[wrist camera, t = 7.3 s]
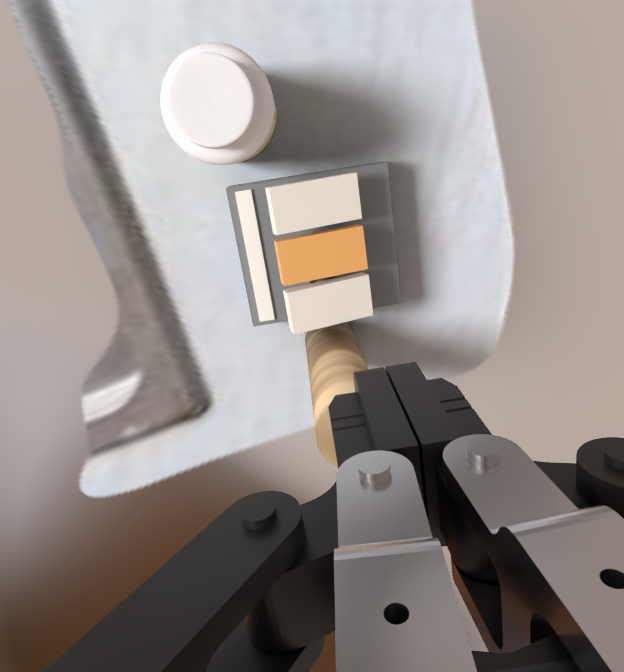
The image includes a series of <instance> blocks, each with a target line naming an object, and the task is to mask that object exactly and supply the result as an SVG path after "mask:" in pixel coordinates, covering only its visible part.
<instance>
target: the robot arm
mask: <svg viewBox="0 0 624 672" xmlns="http://www.w3.org/2000/svg"><path fill="white" fill-rule="evenodd" d="M353 378H354V386H355V392H352V393H346V394H340V395H335V396H334V398H333V400H332V401H331V403H330V405H329V406H328V409H329V415H330V421H331V428H332V434H333V440H334V446H335V452H336V458H337V464H338V471H337V475H336V482H335V484H334V485H333V486H332V487H331V488H330V489H329V490H328V491H327V492H326V493H324V494H323V495H321V496H320V497H318V498H316V499H314V500H312V501H309V502H307V503H305V504H302V505H299V503H298V501H297V500H296V499H295V498H294V497H292V496H290V495H288V494H286V493H283V492H277V491H265V492H259V493H254V494H251V495H248V496H246V497H244V498H242V499H240V500H238V501H237V502H235V503H234V504H232V505H231V506H230V507H229V508H228V509H226V510H225V511H224V512H223V513H222V514H221V515H220V516H219V517H217V518H216V519H215V520H214V521H213V522H212V523H211V524H210V525H208V526H207V527H206V528H205V529H204V530H203V531H202V532H200V534H198V535H197V536H196V537H195V538H194V539H193V540H191V541H190V542H189V543H188V544H187V545H186V546H185V547H183V548H182V549H181V550H180V551H179V552H178V553H177V554H176V555H174V556H173V557H172V558H171V559H170V560H169V561H168V562H166V563H165V564H164V565H163V566H162V567H161V568H160V569H159V570H157V571H156V572H155V573H154V574H153V575H152V576H151V577H150V578H148V579H147V580H146V581H145V582H144V583H143V584H142V585H140V587H138V588H137V589H136V590H135V591H134V592H133V593H132V594H130V595H129V596H128V597H127V598H126V599H125V600H124V601H123V602H121V603H120V604H119V605H118V606H117V607H116V608H115V609H113V610H112V611H111V612H110V613H109V614H108V615H107V616H105V617H104V618H103V619H102V620H101V621H100V622H99V623H98V624H97V625H95V626H94V627H93V628H92V629H91V630H90V631H89V632H87V633H86V634H85V635H84V636H83V637H82V638H81V639H79V640H78V641H77V642H76V643H75V644H74V645H73V646H72V647H70V648H69V649H68V650H67V651H66V652H65V653H64V654H63V655H61V656H60V657H59V658H58V659H57V660H56V661H55V662H54V663H52V664H51V665H50V666H49V667H48V668H47V669H46V670H45V671H43V672H309V670H310V669H311V667H312V666H313V665H314V663H315V662H316V660H317V659H318V657H319V656H320V654H321V652H322V650H323V647H324V644H325V635H327V634H329V633H331V632H333V631H335V639H336V640H335V641H336V672H624V438H616V437H614V438H613V437H612V438H611V437H610V438H609V437H608V438H600V439H595V440H591V441H589V442H587V443H585V444H583V445H582V446H581V447H580V448H579V449H578V451H577V459H576V464H573V463H548V462H537V461H532V460H531V458H530V457H529V456H528V455H527V454H526V453H525V452H524V451H523V450H522V449H521V448H520V447H519V446H518V445H517V444H515V443H514V442H512V441H510V440H508V439H506V438H503V437H500V436H495V435H492V434H491V433H490V431H489V430H488V429H487V427H486V426H485V425H484V423H483V422H482V420H481V419H480V418H479V416H478V415H477V413H476V412H475V411H474V409H472V408H471V405H470V404H469V402H468V401H467V400H466V399H465V397H464V395H463V394H462V393H461V391H460V390H459V389H458V387H457V386H455V385H453V384H452V383H450V382H448V381H446V380H444V379H442V378H438V379H432V380H426V378H425V376H424V375H423V373H422V372H421V370H420V368H419V367H418V365H417V363H416V362H412V363H406V364H400V365H394V366H387V367H385V370H384V368H383V367H382V368H376V369H370V370H363V371H357V372H353ZM442 546H447V547H448V549H449V551H450V554H451V564H452V576H453V580H454V582H455V585H456V586H457V589H458V591H459V592H460V594H461V596H462V598H463V601H464V603H465V605H466V607H467V609H468V611H469V613H470V615H471V617H472V619H473V621H474V623H475V625H476V627H477V629H478V631H479V633H480V635H481V637H482V639H483V641H484V643H485V645H486V647H487V649H488V651H489V652H481V651H471V648H470V645H469V641H468V639H467V634H466V631H465V628H464V624H463V620H462V617H461V614H460V610H459V606H458V603H457V600H456V597H455V592H454V589H453V585H452V582H451V578H450V575H449V572H448V568H447V564H446V561H445V557H444V554H443V550H442Z"/></svg>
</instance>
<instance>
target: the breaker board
mask: <svg viewBox="0 0 624 672" xmlns="http://www.w3.org/2000/svg"><path fill="white" fill-rule="evenodd" d="M346 173H357V179H358V188H359V196H360V205H361V213H362V219H357V220H352V221H347V222H342V223H337V224H331V225H326V226H321V227H316V228H311V229H306V230H301V231H296V232H291V233H286V234H281V235H275V234H273V230H272V224H271V219H270V213H269V207H268V201H267V196H266V190H265V187H271V186H277V185H283V184H288V183H294V182H300V181H304V180H309V179H317V178H323V177H329V176H335V175H340V174H346ZM226 191H227V196H228V201H229V206H230V211H231V216H232V221H233V226H234V231H235V236H236V241H237V246H238V251H239V256H240V261H241V266H242V271H243V276H244V281H245V286H246V292H247V297H248V302H249V307H250V312H251V317H252V322H253V326H258V325H265V324H271V323H277V322H284V321H288V316H287V310H286V305H285V299H284V293H283V290H284V289H289V288H293V287H298V286H302V285H307V284H311V283H316V281H318V280H321V279H317V280H312V281H307V282H302V283H297V284H293V285H288V286H284V285H283V284H282V283H281V279H280V273H279V268H278V262H277V256H276V251H275V245H274V240H276V239H282V238H287V237H292V236H298V235H303V234H308V233H310V232H313V231H320V230H323V231H324V230H329V229H335V228H340V227H345V226H351V225H356V224H358V225H362V226H363V231H364V239H365V248H366V257H367V265H368V269H366V270H361V271H356V272H351V273H346V274H341V275H336V276H332V277H327V278H322V279H334V278H338V277H342V276H347V275H351V274H356V273H360V272H363V273H366V274H368V275H369V282H370V290H371V299H372V307H378V306H385V305H391V304H397V303H401V294H400V284H399V274H398V264H397V253H396V243H395V233H394V223H393V212H392V202H391V192H390V182H389V171H388V162H377V163H370V164H364V165H358V166H352V167H345V168H339V169H333V170H327V171H320V172H314V173H308V174H302V175H295V176H289V177H283V178H277V179H270V180H264V181H258V182H252V183H245V184H239V185H233V186H229V187H227V188H226Z"/></svg>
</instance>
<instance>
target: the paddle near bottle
mask: <svg viewBox="0 0 624 672" xmlns="http://www.w3.org/2000/svg"><path fill="white" fill-rule="evenodd" d="M265 190H266V196H267V201H268V207H269V213H270V219H271V224H272V230H273V234H275V235H281V234H286V233H291V232H296V231H301V230H306V229H311V228H316V227H321V226H326V225H331V224H337V223H342V222H347V221H352V220H357V219H362V213H361V205H360V196H359V188H358V179H357V173H346V174H340V175H335V176H329V177H323V178H317V179H309V180H304V181H300V182H294V183H288V184H283V185H277V186H271V187H265Z"/></svg>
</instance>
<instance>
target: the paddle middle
mask: <svg viewBox="0 0 624 672" xmlns="http://www.w3.org/2000/svg"><path fill="white" fill-rule="evenodd" d="M274 245H275V251H276V256H277V262H278V268H279V273H280V279H281V283H282V284H283V285H284V286H288V285H293V284H297V283H302V282H307V281H312V280H317V279H322V278H327V277H332V276H336V275H341V274H346V273H351V272H356V271H361V270H366V269H368V265H367V257H366V248H365V239H364V231H363V226H362V225H358V224H356V225H351V226H345V227H340V228H335V229H329V230H324V231H323V230H320V231H313V232H310V233H308V234H303V235H298V236H292V237H287V238H282V239H276V240H274Z"/></svg>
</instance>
